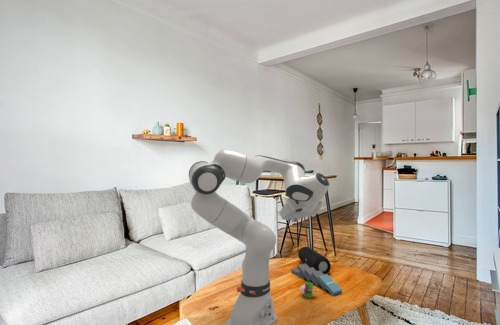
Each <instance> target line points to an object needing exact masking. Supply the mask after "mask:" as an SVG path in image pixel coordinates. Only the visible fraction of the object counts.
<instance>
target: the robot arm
mask: <svg viewBox="0 0 500 325" xmlns="http://www.w3.org/2000/svg"><path fill="white" fill-rule="evenodd" d="M264 171H268V172H271V173H277V174H279V175H281V177H282V178H283V183H284V190H285V195H286V197H287V201H286V203H284V205H283V206H282V208H281V209H280V211H279V216H280V218H281V219H282V220H290V222H291V223H295V222H298V221H299V220H301V219H302V218H305V217H314V216H316V215H318V213H319V212H320V210H321V209H322V205H323V201H322V199H323V198H324V197H325V195H326V194H327V192H328V190H329V188H330V182H329V180H328V178H327V177H326V176H325V175H324V174H323V173H320V172H316V173H314V174H313V175H310V176H306V169H305V166H304V164H302V163H300V162H298V161H289V160H284V159H278V158H275V157H270V156H266V155H261V154H259V155H254V156H253V155H248V154H245V153H243V152H240V151H237V150H231V149H230V150H229V149H225V148H224V149H221V150H219V151H218V152H217V153H215V155H214V158H213V160H212V161H211V162H207V161H202V160H200V161H197V162H195V163H193V164H192V165H191V167H190V168H189V171H188V179H189V182H190V184H191V186H192V188H193V189H194V190H195V194H194V195H193V196H192V199H191V202H190V206H191V209H192V210H193V211H194V212H195V213H196V214H197V215H198V216H199V217H201V218H202V219H203V220H205V222H208V223H209V224H210V225H212V226H214V227H215V228H217V229H219V230H220V231H222V232H223V233H225V234H227V235H229V236H231V237H232V238H234V239H236V240H238V241H239V242H241V244H243V245H245V256H244V258H243V260H242V263H241V270H242V272H241V273H242V275H241V276H242V280H241V284H240V286H239V285H238V286H237V287H236V292H238V293H239V294H238V296H237V299H236V300H235V302H234V304H233V306H232V309H231V311H230V316H229V318H228V319H227V321H226V322H225V323H224V325H273V324H275V323H276V322H277V321H278V317H277V315H276V314H275V304H274V298H273V296H272V294H271V292H270V291H271V280H270V276H269V274H270V268H269V265H270V258H271V253H272V251H273V250H274V249H275V246H276V244H277V236H276V234H275V232H274V231H273V230H272V228H270V226H268V225H265V224H263V223H262V222H260V221H258V220H256V219H254V218H252V217H251V216H250V215H248V214H247V213H245V212H244V211H243V210H242V209H240V208H239V207H238V206H236V205H234V204H233V203H231V202H230V201H228V200H227V199H226V198H224V197H222V196H220V195H219V194H218V193H217V192H216V191H217V190H218V189H219V188H220V186H221V185H222V184H223V182H224V181H225V179H226V178H227V179H232V180H234V181H237V182H240V183H243V184H252V183H254V182H256V181H257V180H258V179H259V178H260V177H261V175H262V174H263V172H264Z"/></svg>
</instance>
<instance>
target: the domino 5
mask: <svg viewBox="0 0 500 325" xmlns="http://www.w3.org/2000/svg"><path fill="white" fill-rule="evenodd" d="M318 280H319V281H320V282H321V284H322V285H323V286H324V287H325V288H326V289H327V290H326V291H328V292H329V294H330V295H332V296H336V295H339V294H342V291H343V288H341V286H340V285H339V284H337V282H336V281H334V279H333V278H332V277H331V276H329V274H328V273H327V274H324V275H322V276H319V277H318Z"/></svg>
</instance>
